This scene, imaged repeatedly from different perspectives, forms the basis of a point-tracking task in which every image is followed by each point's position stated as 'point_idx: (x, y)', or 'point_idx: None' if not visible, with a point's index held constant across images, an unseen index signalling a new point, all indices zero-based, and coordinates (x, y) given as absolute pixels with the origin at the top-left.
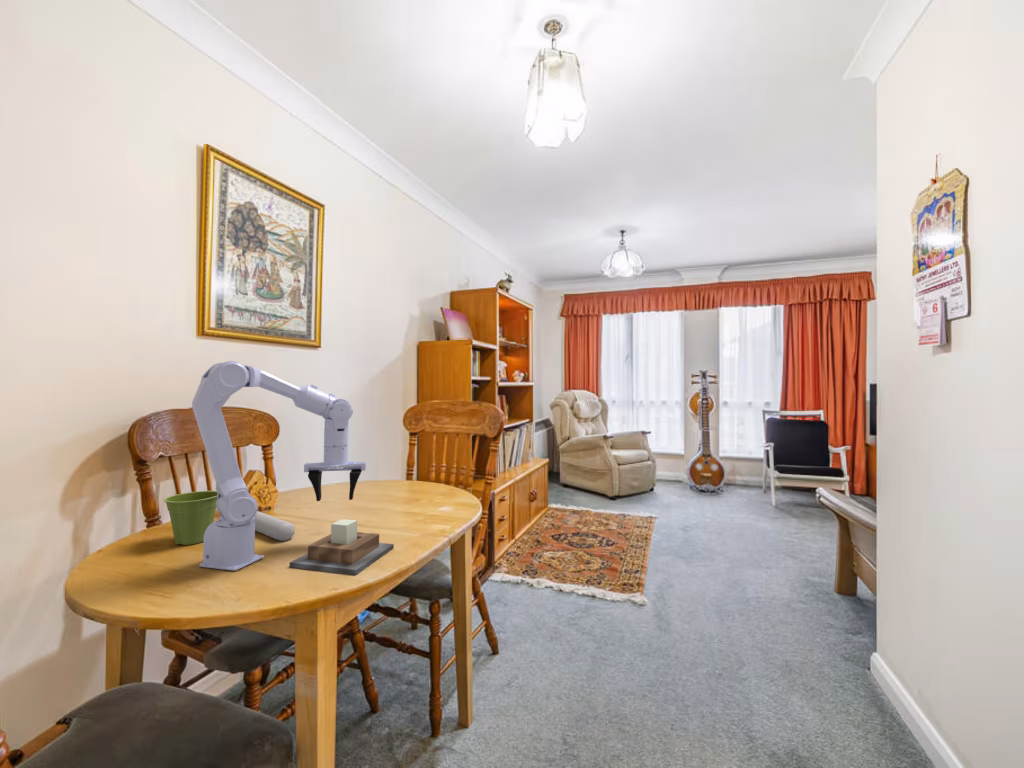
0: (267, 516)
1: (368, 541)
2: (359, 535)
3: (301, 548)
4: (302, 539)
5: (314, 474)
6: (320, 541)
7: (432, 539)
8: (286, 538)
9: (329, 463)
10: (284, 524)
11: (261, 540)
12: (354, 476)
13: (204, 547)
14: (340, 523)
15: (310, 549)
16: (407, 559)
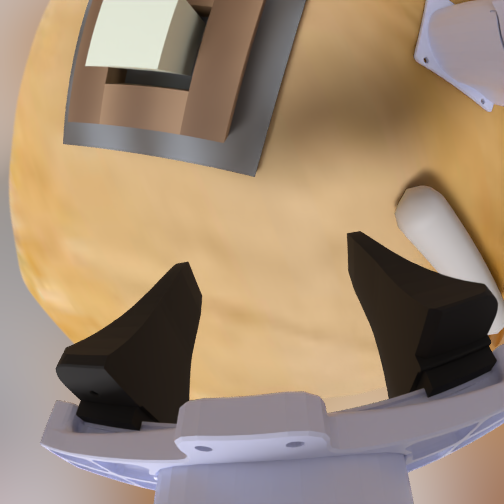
0: (473, 278)
1: (79, 55)
2: (120, 93)
3: (344, 123)
4: (366, 204)
5: (457, 326)
6: (240, 14)
7: (26, 216)
8: (407, 191)
9: (333, 478)
10: (433, 215)
11: (456, 202)
12: (91, 347)
13: None
14: (140, 8)
15: None
16: (26, 81)
